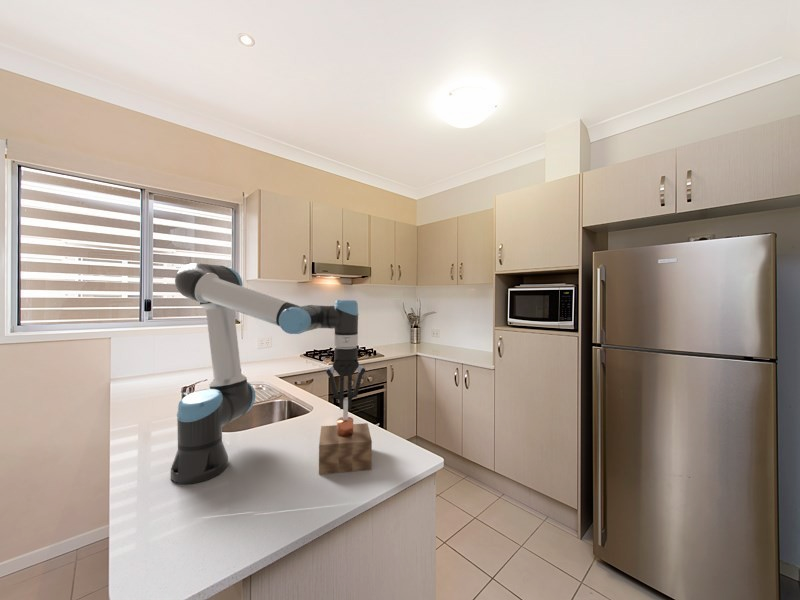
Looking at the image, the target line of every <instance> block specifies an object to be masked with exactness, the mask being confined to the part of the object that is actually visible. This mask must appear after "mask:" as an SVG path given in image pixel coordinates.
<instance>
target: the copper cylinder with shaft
mask: <svg viewBox="0 0 800 600" xmlns="http://www.w3.org/2000/svg"><path fill="white" fill-rule="evenodd" d="M336 421H337V424H336V425H337V435H338V436H340V437H348V436H351V435H352V434H353V424H354V418H353V417H351V416H348V420H343V416H341V417H339V418H337V420H336Z"/></svg>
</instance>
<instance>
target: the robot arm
mask: <svg viewBox="0 0 800 600" xmlns="http://www.w3.org/2000/svg"><path fill="white" fill-rule="evenodd" d="M174 284H175V288H176V289H177V291H178V293H180V294H181V295H182V296H183V297H185V298H187V299H190V300H194V301H196V302H199V306H200V307H201V308H203V309H204V310H205V313H206V321H207V322H206V323H207V331H208V339H209V347H210V357H211V365H212V374H213V375H212V376H213V379H212V381H211V382H210V383H209V388H208V389H207V388H206V389H201V390H200V391H199V390H197V391H193V392H191V393H189V394H187V395H185V396H184V397H183V398H181V399H180V401H179V402H178V406H177V412H176V417H177V420H176V421H177V451H176V454H175V457H174V460H173V463H172V464H171V468H170V480H171V479H172V480H173V481H174V483H175V482H177V483H176V484H179V483H181V485H189V484H190V485H191V484H196V483H201V482H204V481H208V480H211V479H213V478H215V477H217V476H219V475H220V474H222V473H223V472H224V471H226V469H227V468H228V466H229V455H228V452H227V450H226V448H225V445H224V443H223V427H224V426H226V425H228V424H230V423H231V422H233V421H235V420H236V419H237V420H238V418H241V417H242V416H244V415H246V413H248V412H249V411H251V409H252V408H253V406H254V405H255V402H256V401H255V400H256V391H255V388H254V387H253V385H251V383H250V382H248V377H247V376H245V375H244V374H243V373H242V368H241V367H242V366H241V360H240V350H239V343H238V333H237V324H236V317H235V316H236V315H235V312H237V313H239V314H240V313H241V314H244V315H246V316H249V317H251V318H252V317H253V318H255V319H257V320H261V321H263V322H265V323H266V322H267V323H269V324H272V325H275V326H278V327H280V328H281V329H282V331H284V332H285V333H286V334H289V335H300V334H302V333H306V332H308V331H313V330H316V329H332V330H333V329H334V352H333V353H334V355H333V356H334V359H333V363H332V365H331V366H330V367H326V371H325V373H326V374H327V376H328V377H329V382H330V385H331V389H332V394H333V397H334V399H338V400H339V410H342V417H343V420H348V417H349V410H352V399H353V398H357V397H358V395H359V390H360V387H361V383H362V378H363V375H364V374H365V372H366V368H365V366H362V365H360V362H359V358H358V355H359V354H358V350H359V349H358V345H359V343H358V342H359V341H358V340H359V335H358V333H359V332H358V329H359V303H358V302H357V300H353V299H336V300H334V301H335V302H334V304H333V305H319V304H318V305H317V304H316V305H314V304H308V305H307V304H306V305H302V306H301V305H298V304H295V303H291V302H289V301H286V300H284V299H283V300H282V299H280V298H277V297H273V296H271V295H268V294H265V293H262V292H259V291H257V290H254V289H251V288H248V287H244V286H243V285H244V284H243V279H242V277H241V275H240V274H239V273H238V272H237V271H236V270H235V269H233V268H232V267H228V266H224V265H217V264H216V265H215V264H209V263H208V264H207V263H199V262H195V263H189V264H186V265H183V266H182V267H181V268H180V269H179V270H178V271H177V272H176V275H175V278H174ZM334 370H335V371H334ZM356 371H357V377H356V380H355V385H354V389H352V388H353V386H352V384H353V382H352V381H353V375H354V374H355V372H356ZM334 372H336V373H337V374H338V376H339V392H338V389H337V384H336V380H335V375H334ZM346 376H347V397H344V393H345V392H344V391H345V390H344V389H345V386H344V385H345V377H346ZM352 390H353V392H352ZM172 480H171V481H172ZM173 481H172V482H173Z"/></svg>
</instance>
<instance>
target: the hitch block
mask: <svg viewBox="0 0 800 600" xmlns="http://www.w3.org/2000/svg"><path fill="white" fill-rule="evenodd" d="M320 427H321V428H320V434H319V444H318V475H329V474H337V473H338V474H340V473H348V472H349V473H351V472H359V471H370V470H372V464H373V463H372V457H373V456H372V451H373V449H372V446H373V441H372V436H371V432H370V428H369V423H367V422H366V423H353V434H352V435H351V436H348V437H340V436H338V435H337V424H336V425H333V424H332V425H321V426H320Z"/></svg>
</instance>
